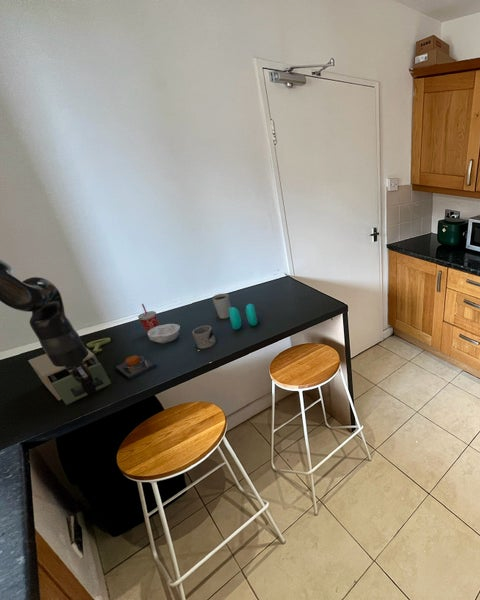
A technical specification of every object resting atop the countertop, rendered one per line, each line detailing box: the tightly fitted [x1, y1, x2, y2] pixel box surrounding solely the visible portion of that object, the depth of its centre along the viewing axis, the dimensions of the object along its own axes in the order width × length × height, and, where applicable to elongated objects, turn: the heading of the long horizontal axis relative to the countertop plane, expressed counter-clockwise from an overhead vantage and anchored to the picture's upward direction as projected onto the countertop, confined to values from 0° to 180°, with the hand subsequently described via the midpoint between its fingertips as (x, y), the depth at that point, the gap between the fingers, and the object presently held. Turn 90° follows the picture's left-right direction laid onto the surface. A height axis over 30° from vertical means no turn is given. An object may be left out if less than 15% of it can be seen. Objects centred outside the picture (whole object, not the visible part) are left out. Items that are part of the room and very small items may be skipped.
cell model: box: [147, 323, 181, 344], centre depth 128 cm, size 10×12×7 cm
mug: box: [191, 324, 217, 350], centre depth 127 cm, size 10×7×7 cm
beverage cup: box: [137, 303, 160, 334], centre depth 132 cm, size 6×6×14 cm
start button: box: [124, 355, 140, 366], centre depth 112 cm, size 4×4×2 cm
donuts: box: [229, 303, 259, 330], centre depth 137 cm, size 10×10×10 cm
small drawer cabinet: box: [27, 347, 100, 401], centre depth 105 cm, size 15×13×10 cm
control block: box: [115, 355, 156, 380], centre depth 113 cm, size 10×8×3 cm
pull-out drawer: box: [48, 359, 112, 406], centre depth 101 cm, size 18×11×8 cm, turn 58°
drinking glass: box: [211, 293, 232, 319], centre depth 146 cm, size 7×7×10 cm
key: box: [86, 337, 112, 354], centre depth 125 cm, size 7×12×2 cm, turn 53°
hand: (91, 392), depth 97 cm, fingers closed
